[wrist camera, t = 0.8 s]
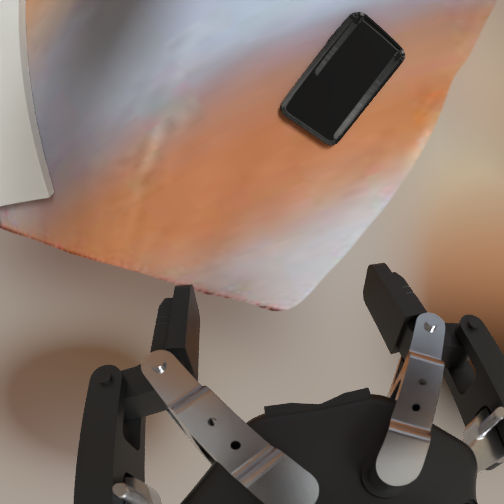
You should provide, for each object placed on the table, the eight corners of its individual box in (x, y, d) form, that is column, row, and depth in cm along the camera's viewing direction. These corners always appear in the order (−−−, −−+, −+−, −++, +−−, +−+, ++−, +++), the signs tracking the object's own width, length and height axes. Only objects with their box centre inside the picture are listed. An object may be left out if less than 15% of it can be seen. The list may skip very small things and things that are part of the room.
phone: (408, 54, 25) (333, 149, 32) (403, 53, 25) (330, 145, 33) (357, 7, 21) (276, 110, 29) (353, 8, 22) (274, 108, 30)
